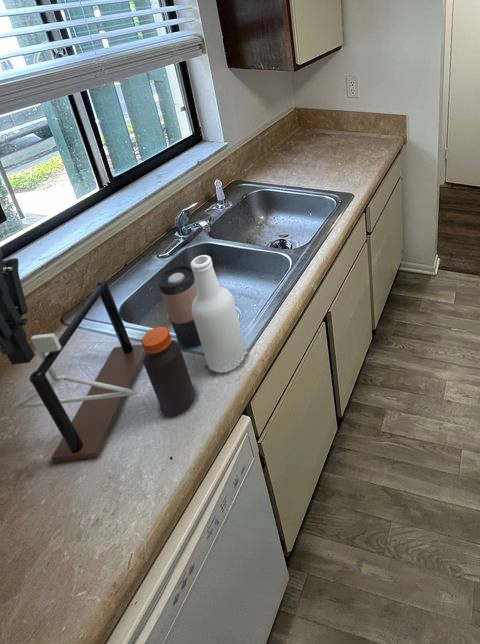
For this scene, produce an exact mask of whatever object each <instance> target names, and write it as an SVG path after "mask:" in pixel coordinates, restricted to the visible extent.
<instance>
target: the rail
mask: <svg viewBox="0 0 480 644" xmlns="http://www.w3.org/2000/svg"><path fill="white" fill-rule="evenodd" d="M99 298H100V299H101V301H102V304H103V306H104V309H105V311H106V314H107V316H108V318H109V321H110V323H111V325H112V328H113V330H114V332H115V335H116V337H117V339H118V342H119V344H120V345H119V346H115V347H113V348H112V350H111V352H110V354H109V356H108V357H107V358H106V361H105V362H104V364H103V366H102V368H101V369H100V370H99V371H100V372H99V373H98V375H97V376H96V378H95V380H94V381H95V382H100V383H104V384H109V385H114V386H118V387H123V388H128V389H132V386H133V384H134V382H135V380H136V378H137V375H138V373H139V372H140V369H141V367H142V365H143V358H144V356H145V353H146V352H145V350H144V348H143V345H142V343H141V344H132V342H131V340H130V337H129V334H128V332H127V329H126V327H125V325H124V321H123V320H122V317H121V314H120V312H119V309H118V307H117V304H116V301H115V299H114V297H113V294H112V292H111V289H110V287H109V282H107V281H106V280H100V281H98V282H97V283H96V284H95V288H94V290H93V291H92V292H91V293H90V295H89V297H88V298H87V299H86V300H85V302H84V303H83V305H82V306H81V307H80V309H79V310H78V311H77V313H76V314H75V316H74V317H73V319H72V320H71V321H70V322H69V325H67V327H66V328H65V330H64V331H63V333H62V334H61V335H60V336H59V338H58V341H59V343H60V345H61V349H60V350H59V351H51V352H47V353H48V354H46V358H45V359H44V360H43V361H42V362H41V363H40V364H39V366H38V368H37V369H36V370H34V371H33V372H32V373H31V374H30V375H29V379H28V380H29V383H31V384H32V386H33V388H34V389H35V392H37V393H38V396H39V398H40V400H41V401H42V402H43V403H44V405H45V406H44V407H45V409H46V411H47V412H48V414H49V415H50V418H51V420H52V421H53V423H54V425H55V426H56V428H57V429H58V431H59V433H60V434H61V436H62V438H61V440H60V441H59V443H58V445H57V447H56V448H55V450H54V451H53V453H52V456H51V457H50V460H51V461H52V463H53V464H56V463H65V462H71V461H79V460H85V459H93V458H94V459H95V458H98V457H99V455H100V454H101V451H102V448H103V446H104V445H105V443H106V441H107V438H108V436H109V435H110V432H111V430H112V428H113V425H114V423H115V422H116V420H117V418H118V415H119V413H120V411H121V409H122V407H123V405H124V403H125V401H126V398H127V396H120V397H112V398H104V399H95V400H87V401H82V403H81V404H80V407H79V408H78V410H77V411H76V413H75V415H74V417H73V418H72V420H71V418H70V417H69V415H68V413H67V412H66V411H67V410H66V409H65V407H64V406H63V403H62V404H61V402H60V400H59V399H60V398H59V397H58V394H57V393H56V391H55V390H54V389H55V388H53V387H52V386H51V384H50V383H51V382H50V380H49V378H48V377H47V373H48V370H49V368H50V367H51V365H52V366H53V364H54V363H55V362H56V360H57V358H58V357H59V355H60V354H61V353H62V351H63V350H64V348H65V347H66V346H67V344H68V342H69V341H70V339H71V338H72V337H73V336H74V334H75V332H76V331H77V330H78V328H79V327H80V325H81V324H82V322H83V321H84V319H85V318H86V317H87V315H88V313H89V312H90V311H91V309H92V308H93V306H94V305H95V304H96V302H97V301H98V299H99ZM117 392H119V391H114V390H109V389H105V388H100V387H95V386H90V389H89V390H88V392H87V393H86V396H91V395H100V394H108V393H117Z"/></svg>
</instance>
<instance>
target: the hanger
mask: <svg viewBox="0 0 480 644" xmlns="http://www.w3.org/2000/svg"><path fill="white" fill-rule="evenodd" d="M58 340H59V338H58V337H57V335H56V333H55V332H54V333H44V334H35V335H32V336H31V338H30V341H31V342H32V344H33V346H34V348H35V350H36V351H37V354H38V355H39V357H40V359H41V361H42V362H43V360H44V359H45V358H46V356H47V354H46V353H49V352H51V351H59V350H60V349H61V345H60V343H59V341H58ZM47 373H48V374H49V376H50V378H51V379H52V381H51V382H50V384H51V386H52V388H53V387H55V386H57V385H58V384H60V383H62V382H64V381H67V382H72V383H76V384H81V385H86V386H89V387H92V386H95V387H100V388H105V389H109V390H114V391H119V392H117V393H108V394H100V395H91V396H87V395H84V396H76V397H66V398H58V399H59V400H60V402H61V404H62V405H63V404H70V403H79V402H83V401H87V400H95V399H104V398H112V397H120V396H135V395H137V394H138V390H136V389H132V388H130V389H128V388H123V387H118V386H114V385H109V384H104V383H100V382H95V380H94V381H93V380H90V379H87V378H80V377H76V376H72V375H68V374H67V375H66V374H61V375H57V373H56V371H55V369H54V367H53V364H52V365H51V367H50V368H49V370H48V371H47ZM38 396H39V395H38V393H37V391H35V392H33V393H31V394H30V395H28V396H27V397H25V398H23V399H22V400H20V401H18V402H16V403H14V404H13V405H12V407H11V408H12V410H19V409H20V410H21V409H28V408H36V407H45V405H44V403H43V402H42V400H41V401H34V402H29V401H31V400H33V399H34V398H37V397H38Z"/></svg>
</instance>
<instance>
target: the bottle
mask: <svg viewBox="0 0 480 644" xmlns="http://www.w3.org/2000/svg"><path fill="white" fill-rule="evenodd" d="M140 342H141V344H142V345H143V348H144V350H145V352H146V353H145V356H144V358H143V363H142V365H143V366H144V368H145V371H146V373H147V376H148V378H149V381H150V385H151V387H152V389H153V392H154V394H155V397H156V400H157V401H158V404H159V407H160V409H161V412H162V413H164V414H165V415H166V416H178V415H179V414H182V413H184V412H185V411H187V410H188V409H189V408H190V407H191V406H192V404H193V403H194V402H195V399H196V391H195V388H194V384H193V382H192V378H191V376H190V372H189V369H188V367H187V364H186V361H185V357H184V354H183V352H182V348H181V345H180V344H179V342H177V341H175V340H172V336H171V333H170V330H169V328H167V327H166V326H157V327H154V328H152V329H150V330H148V331H146V332H145V334H144V335H143V336H142V338H141V341H140Z"/></svg>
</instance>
